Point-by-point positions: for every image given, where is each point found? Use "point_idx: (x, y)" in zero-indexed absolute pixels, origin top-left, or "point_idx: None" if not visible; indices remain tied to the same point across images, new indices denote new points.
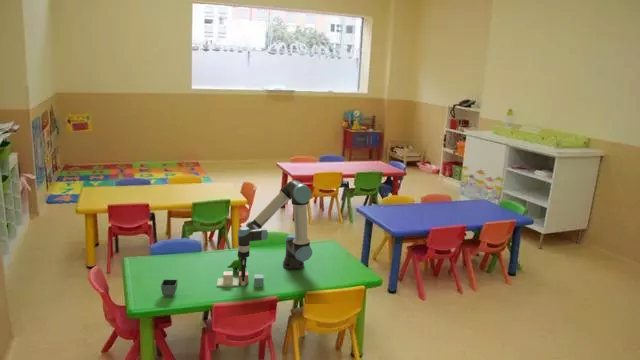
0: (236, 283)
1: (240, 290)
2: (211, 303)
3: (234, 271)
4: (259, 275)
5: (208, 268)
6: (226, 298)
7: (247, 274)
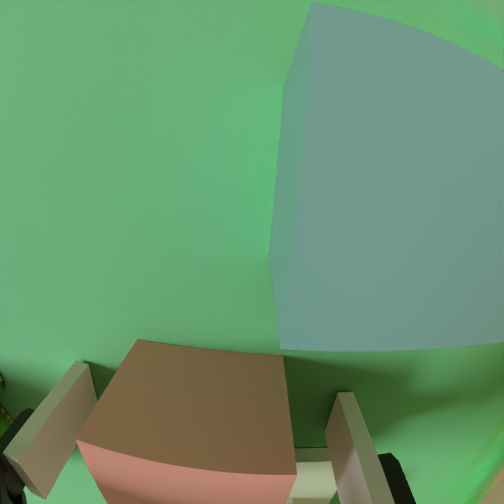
0: (300, 477)
1: (442, 418)
2: (486, 494)
3: (4, 422)
4: (405, 162)
5: (27, 497)
6: (490, 462)
7: (254, 482)
